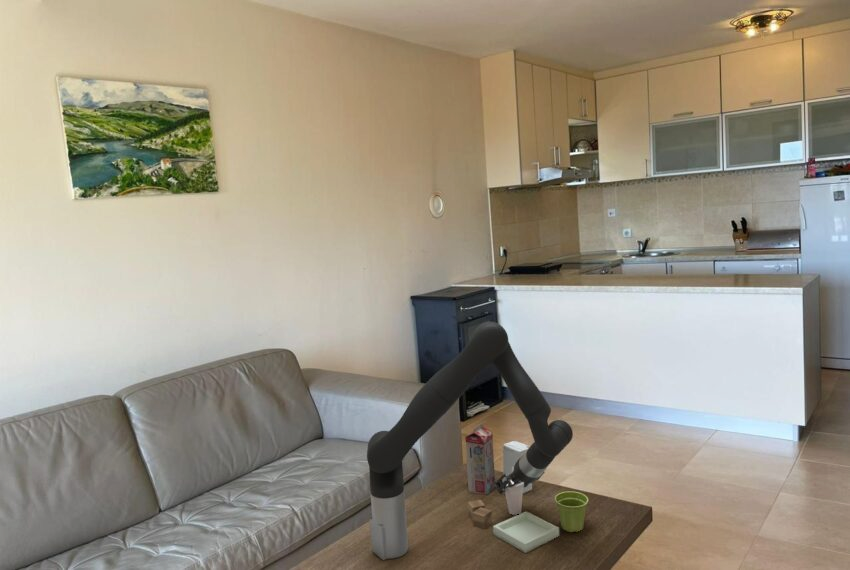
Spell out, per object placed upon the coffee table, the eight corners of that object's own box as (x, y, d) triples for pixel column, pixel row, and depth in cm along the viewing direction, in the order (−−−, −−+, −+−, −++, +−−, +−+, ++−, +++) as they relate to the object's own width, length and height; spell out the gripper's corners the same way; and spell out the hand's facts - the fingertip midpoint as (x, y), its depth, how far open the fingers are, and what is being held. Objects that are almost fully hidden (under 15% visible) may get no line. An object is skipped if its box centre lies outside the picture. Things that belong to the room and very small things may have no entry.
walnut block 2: (484, 529, 183) (483, 516, 183) (473, 525, 186) (472, 512, 185) (492, 523, 186) (491, 510, 186) (481, 519, 189) (480, 507, 188)
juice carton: (495, 486, 210) (491, 422, 208) (486, 494, 205) (483, 429, 202) (477, 483, 214) (473, 420, 211) (468, 491, 208) (464, 427, 205)
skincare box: (503, 487, 209) (500, 444, 208) (516, 481, 213) (513, 439, 211) (521, 495, 203) (519, 451, 201) (534, 489, 206) (532, 445, 204)
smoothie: (524, 506, 195) (522, 463, 193) (526, 517, 189) (524, 472, 187) (504, 507, 196) (501, 464, 194) (504, 517, 189) (502, 472, 188)
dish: (525, 553, 169) (525, 544, 169) (493, 534, 180) (493, 526, 180) (559, 536, 177) (558, 527, 176) (526, 519, 187) (526, 511, 187)
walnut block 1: (473, 520, 189) (472, 507, 188) (468, 514, 193) (467, 502, 192) (485, 517, 190) (484, 505, 189) (481, 512, 194) (480, 499, 193)
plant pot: (595, 525, 181) (594, 496, 180) (578, 539, 174) (577, 509, 173) (566, 516, 188) (565, 488, 187) (549, 529, 181) (548, 500, 180)
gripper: (546, 447, 186) (525, 471, 197) (505, 458, 180) (486, 482, 191) (558, 471, 181) (536, 493, 193) (516, 482, 176) (496, 505, 187)
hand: (511, 487), depth 192 cm, fingers open, 8 cm apart
